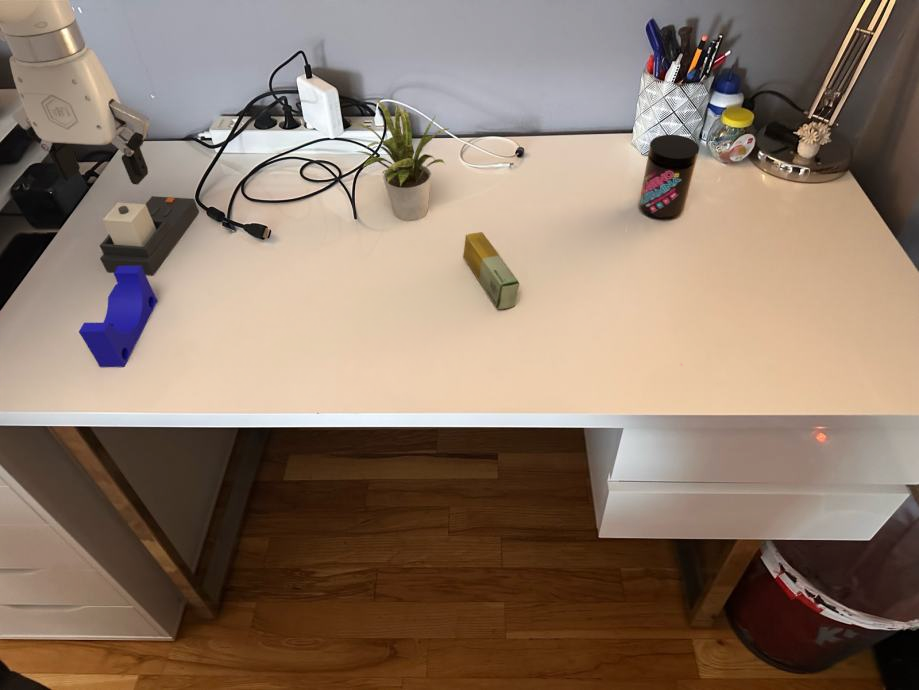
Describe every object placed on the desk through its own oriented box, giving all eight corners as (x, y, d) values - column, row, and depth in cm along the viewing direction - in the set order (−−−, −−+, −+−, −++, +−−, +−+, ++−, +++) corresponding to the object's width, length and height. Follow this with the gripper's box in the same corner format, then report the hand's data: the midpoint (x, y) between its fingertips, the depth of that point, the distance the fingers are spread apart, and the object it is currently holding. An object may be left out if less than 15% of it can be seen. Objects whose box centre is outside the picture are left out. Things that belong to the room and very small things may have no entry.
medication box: (516, 307, 87) (521, 283, 84) (498, 311, 86) (501, 287, 83) (479, 253, 95) (482, 229, 92) (461, 257, 94) (464, 233, 91)
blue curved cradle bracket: (124, 301, 90) (106, 266, 86) (157, 300, 90) (141, 265, 86) (87, 367, 82) (65, 331, 77) (124, 366, 81) (104, 331, 77)
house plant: (340, 204, 105) (322, 104, 93) (414, 174, 110) (405, 76, 99) (390, 248, 97) (377, 144, 85) (466, 213, 102) (464, 111, 91)
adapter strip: (106, 272, 94) (95, 249, 92) (157, 209, 105) (148, 187, 102) (153, 275, 94) (142, 252, 91) (199, 212, 104) (191, 189, 102)
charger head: (116, 249, 94) (100, 215, 90) (131, 231, 97) (115, 198, 93) (144, 251, 94) (129, 217, 90) (158, 233, 96) (144, 200, 92)
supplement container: (631, 199, 104) (642, 137, 96) (673, 194, 104) (687, 132, 97) (647, 224, 99) (660, 161, 91) (691, 219, 100) (707, 155, 92)
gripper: (-45, 51, 74) (28, 188, 86) (100, 57, 72) (154, 196, 84) (-2, 27, 79) (61, 159, 91) (134, 31, 77) (181, 166, 89)
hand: (105, 176), depth 87 cm, fingers open, 9 cm apart
